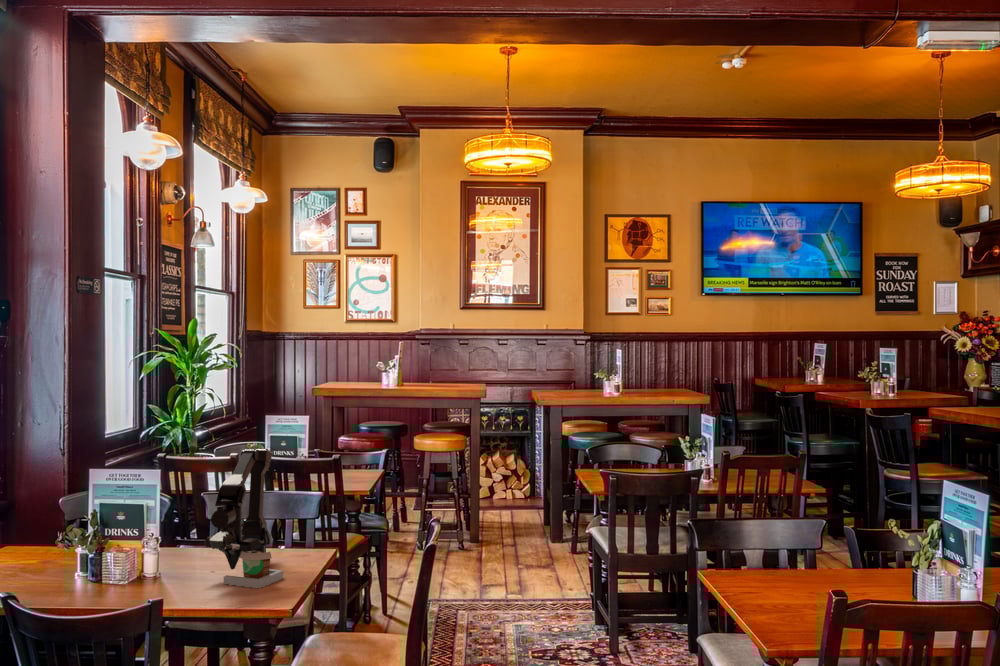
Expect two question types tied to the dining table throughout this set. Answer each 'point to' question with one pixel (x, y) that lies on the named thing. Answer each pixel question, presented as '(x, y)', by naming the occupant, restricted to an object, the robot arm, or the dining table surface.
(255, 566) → the food container
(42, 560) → the dining table surface
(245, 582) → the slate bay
